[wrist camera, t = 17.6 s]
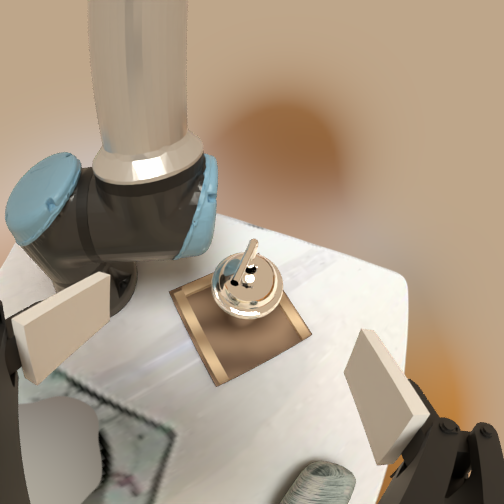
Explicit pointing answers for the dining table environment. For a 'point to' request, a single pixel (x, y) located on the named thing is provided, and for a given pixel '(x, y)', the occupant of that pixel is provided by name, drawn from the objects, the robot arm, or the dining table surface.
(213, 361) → the brown flat square tray
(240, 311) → the cup with straw
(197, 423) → the dining table surface
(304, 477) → the spool
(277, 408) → the dining table surface
